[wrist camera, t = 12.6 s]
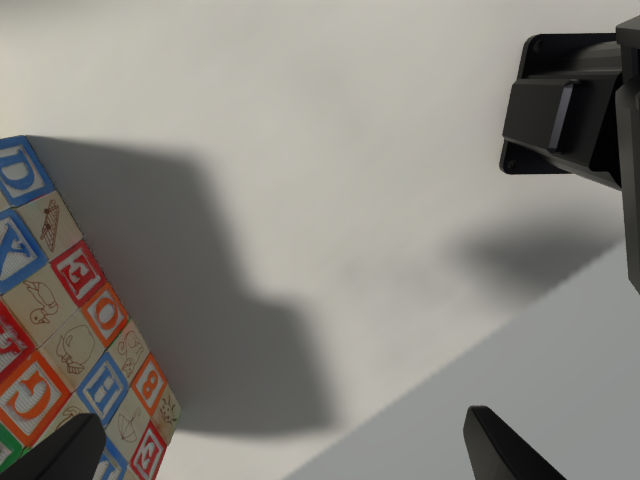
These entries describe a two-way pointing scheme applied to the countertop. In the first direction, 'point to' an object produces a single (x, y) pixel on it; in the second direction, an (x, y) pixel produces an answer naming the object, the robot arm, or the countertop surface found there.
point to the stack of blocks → (69, 334)
